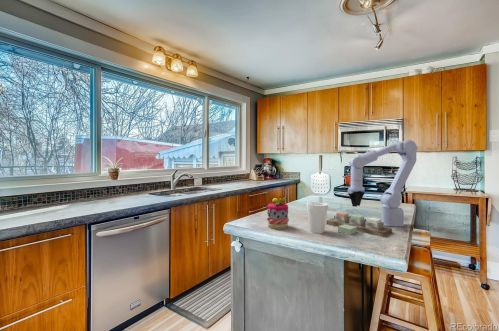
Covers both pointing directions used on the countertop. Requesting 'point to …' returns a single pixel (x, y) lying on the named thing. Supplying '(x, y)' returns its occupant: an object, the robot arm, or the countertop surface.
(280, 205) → the cake
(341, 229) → the block
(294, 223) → the countertop surface
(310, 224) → the foam cup
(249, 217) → the countertop surface
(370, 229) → the button console
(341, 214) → the terracotta button
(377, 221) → the cream button
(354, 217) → the sage button
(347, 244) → the countertop surface
